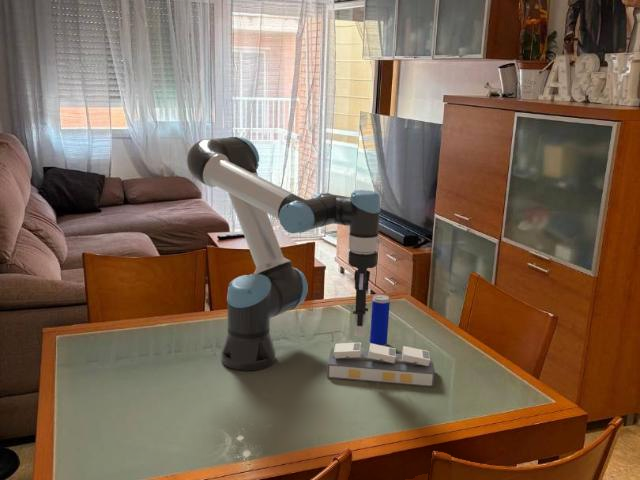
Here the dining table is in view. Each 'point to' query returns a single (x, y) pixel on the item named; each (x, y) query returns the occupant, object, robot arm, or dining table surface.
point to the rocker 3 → (415, 356)
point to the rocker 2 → (382, 353)
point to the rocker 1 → (347, 350)
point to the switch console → (380, 370)
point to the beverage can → (379, 320)
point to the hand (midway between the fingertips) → (359, 335)
